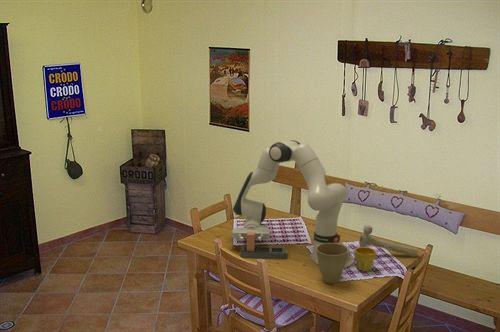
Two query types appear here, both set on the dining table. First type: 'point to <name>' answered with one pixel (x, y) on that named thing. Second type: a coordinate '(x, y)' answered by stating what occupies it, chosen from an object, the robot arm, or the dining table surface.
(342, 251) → the plant pot
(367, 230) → the hammer
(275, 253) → the grey slotted tray
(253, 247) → the peg
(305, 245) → the dining table surface
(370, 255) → the plant pot
